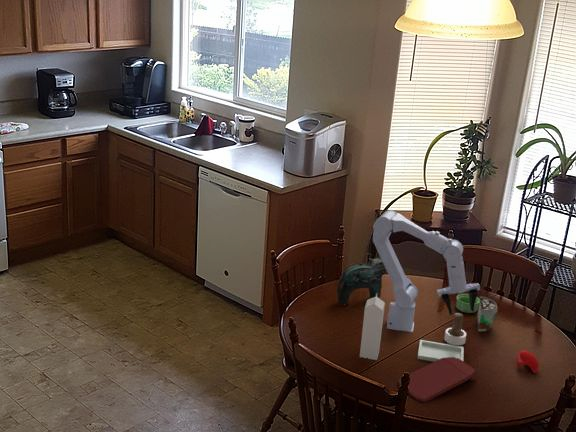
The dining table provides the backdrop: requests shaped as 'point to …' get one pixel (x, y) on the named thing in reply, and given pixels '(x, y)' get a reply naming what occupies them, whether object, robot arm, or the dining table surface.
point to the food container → (485, 314)
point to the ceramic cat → (361, 279)
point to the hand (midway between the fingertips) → (461, 311)
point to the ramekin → (466, 303)
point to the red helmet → (527, 360)
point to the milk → (372, 328)
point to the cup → (455, 337)
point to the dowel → (457, 324)
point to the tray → (438, 351)
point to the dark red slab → (439, 378)
